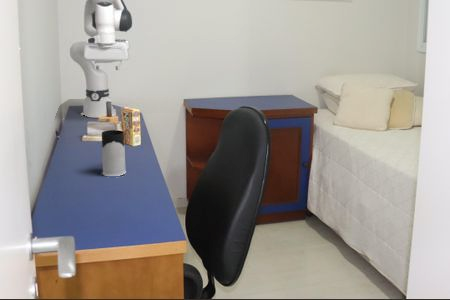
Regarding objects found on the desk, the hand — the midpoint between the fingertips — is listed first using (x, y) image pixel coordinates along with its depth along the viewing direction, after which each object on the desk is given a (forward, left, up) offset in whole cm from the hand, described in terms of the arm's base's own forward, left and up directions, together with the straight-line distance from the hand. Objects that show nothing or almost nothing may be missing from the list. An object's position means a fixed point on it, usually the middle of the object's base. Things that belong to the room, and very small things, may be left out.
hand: (107, 69), depth 246 cm
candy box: (+24, +14, -29) cm, 40 cm away
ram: (+1, 0, -27) cm, 27 cm away
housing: (+12, 0, -27) cm, 30 cm away
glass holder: (+64, +14, -29) cm, 72 cm away
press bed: (+8, 0, -29) cm, 30 cm away
